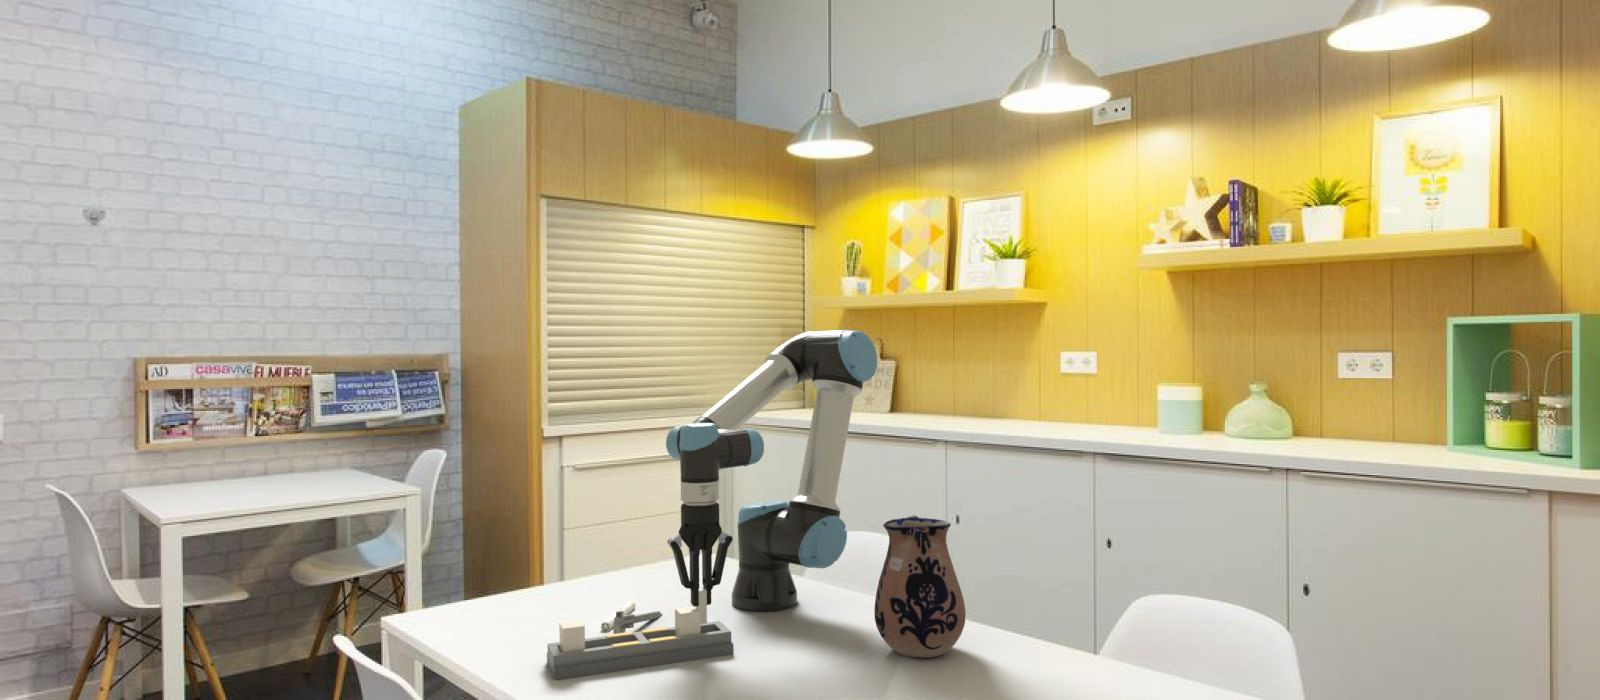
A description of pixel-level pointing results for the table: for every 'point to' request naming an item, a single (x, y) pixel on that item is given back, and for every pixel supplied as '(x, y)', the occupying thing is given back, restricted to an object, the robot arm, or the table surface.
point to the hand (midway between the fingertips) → (701, 621)
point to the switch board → (639, 650)
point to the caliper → (631, 620)
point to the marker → (610, 621)
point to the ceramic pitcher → (919, 590)
